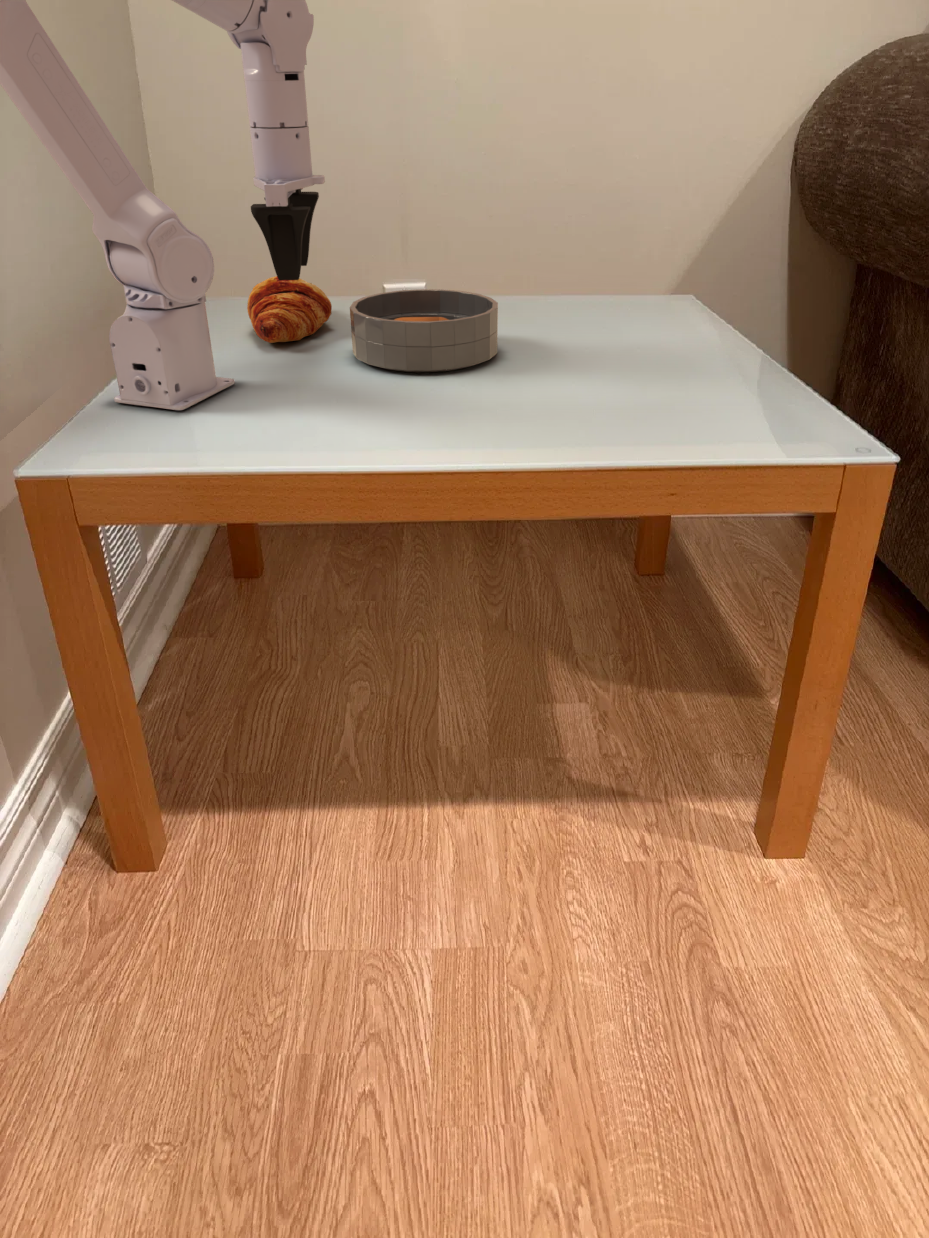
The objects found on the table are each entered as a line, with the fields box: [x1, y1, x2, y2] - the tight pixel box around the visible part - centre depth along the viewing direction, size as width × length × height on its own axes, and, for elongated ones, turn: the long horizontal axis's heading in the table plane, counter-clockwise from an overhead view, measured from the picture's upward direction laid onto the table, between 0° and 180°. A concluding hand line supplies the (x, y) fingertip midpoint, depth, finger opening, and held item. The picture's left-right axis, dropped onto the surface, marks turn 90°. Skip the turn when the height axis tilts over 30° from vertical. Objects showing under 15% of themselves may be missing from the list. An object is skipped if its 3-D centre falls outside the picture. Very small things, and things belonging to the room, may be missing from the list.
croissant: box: [246, 275, 333, 344], centre depth 113 cm, size 21×10×8 cm, turn 178°
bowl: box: [349, 288, 499, 373], centre depth 103 cm, size 16×16×6 cm
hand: (293, 272), depth 97 cm, fingers open, 7 cm apart
